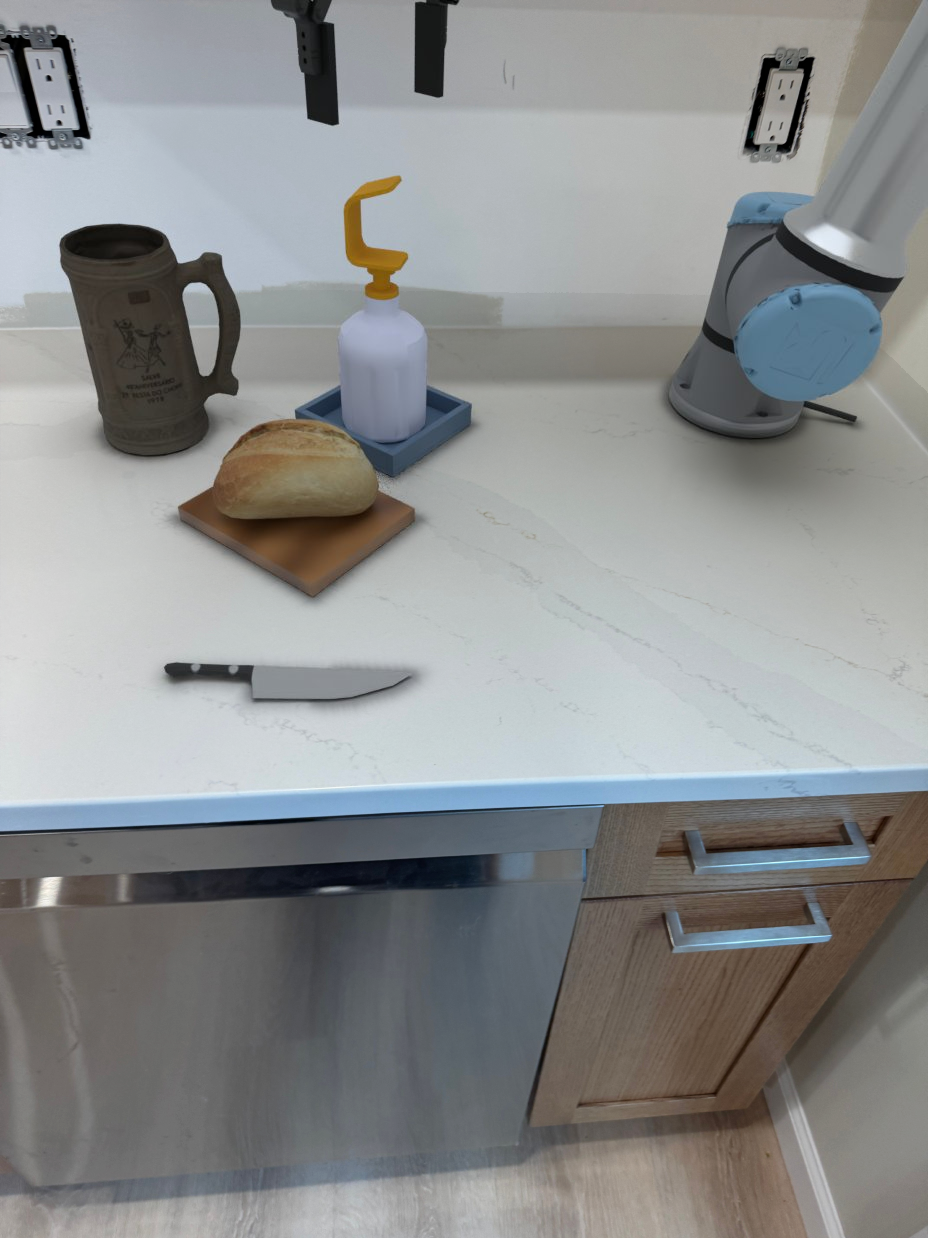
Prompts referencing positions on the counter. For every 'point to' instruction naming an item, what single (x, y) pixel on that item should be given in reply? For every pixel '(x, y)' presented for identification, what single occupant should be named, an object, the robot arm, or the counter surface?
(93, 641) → the counter surface
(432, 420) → the soap tray
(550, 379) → the counter surface
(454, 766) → the counter surface
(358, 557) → the bread board
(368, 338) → the soap bottle
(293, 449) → the bread roll
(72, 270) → the beer stein
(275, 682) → the chef's knife
